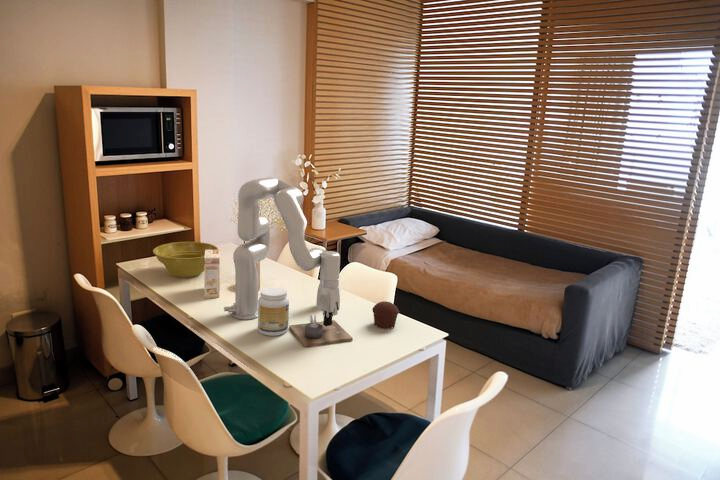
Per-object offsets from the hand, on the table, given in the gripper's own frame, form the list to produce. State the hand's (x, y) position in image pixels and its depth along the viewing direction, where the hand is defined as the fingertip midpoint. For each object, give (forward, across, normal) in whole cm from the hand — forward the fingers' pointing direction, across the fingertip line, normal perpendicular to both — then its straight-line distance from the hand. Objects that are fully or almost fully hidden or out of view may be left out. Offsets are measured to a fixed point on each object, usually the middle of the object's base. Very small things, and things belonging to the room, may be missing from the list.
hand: (327, 325), depth 215 cm
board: (+3, 0, -4) cm, 5 cm away
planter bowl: (+3, -99, -18) cm, 100 cm away
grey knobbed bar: (+1, -2, -6) cm, 6 cm away
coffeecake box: (+3, -66, -19) cm, 69 cm away
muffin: (+3, +7, +25) cm, 27 cm away
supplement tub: (+3, -13, -18) cm, 22 cm away
